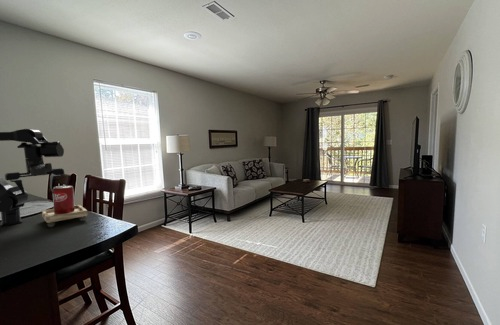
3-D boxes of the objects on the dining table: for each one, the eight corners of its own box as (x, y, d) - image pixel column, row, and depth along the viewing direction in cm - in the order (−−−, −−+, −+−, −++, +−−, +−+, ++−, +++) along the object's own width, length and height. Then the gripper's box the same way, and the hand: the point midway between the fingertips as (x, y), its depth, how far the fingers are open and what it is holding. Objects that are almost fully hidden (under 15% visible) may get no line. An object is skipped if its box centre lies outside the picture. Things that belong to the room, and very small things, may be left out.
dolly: (42, 221, 104) (41, 210, 104) (80, 214, 115) (79, 204, 114) (47, 228, 95) (46, 217, 95) (87, 220, 105) (87, 210, 105)
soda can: (63, 216, 100) (61, 188, 99) (49, 214, 102) (48, 187, 101) (78, 211, 107) (77, 185, 106) (66, 210, 109) (64, 185, 108)
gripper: (5, 160, 89) (10, 200, 91) (65, 156, 104) (69, 190, 105) (2, 159, 96) (7, 196, 98) (59, 156, 111) (62, 188, 112)
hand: (38, 193), depth 103 cm, fingers open, 9 cm apart
